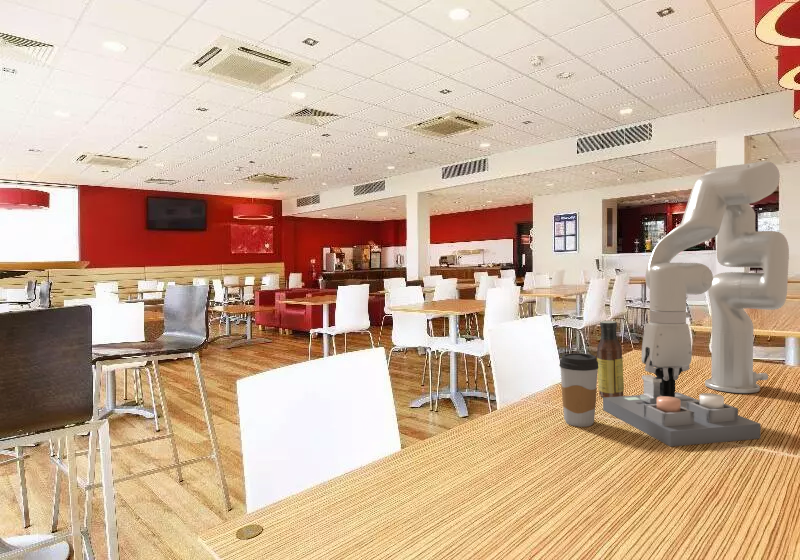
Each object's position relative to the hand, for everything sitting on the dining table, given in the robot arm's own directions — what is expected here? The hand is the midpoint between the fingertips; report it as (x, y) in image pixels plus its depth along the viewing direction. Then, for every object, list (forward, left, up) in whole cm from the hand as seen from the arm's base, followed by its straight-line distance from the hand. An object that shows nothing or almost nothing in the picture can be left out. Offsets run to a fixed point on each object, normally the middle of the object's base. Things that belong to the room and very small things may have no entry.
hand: (667, 395), depth 119 cm
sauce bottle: (+4, -16, -5) cm, 17 cm away
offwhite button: (-2, +12, +1) cm, 12 cm away
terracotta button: (+8, +12, +1) cm, 15 cm away
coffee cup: (+22, +1, -5) cm, 23 cm away
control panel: (+2, +6, -4) cm, 8 cm away
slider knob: (+4, 0, -1) cm, 4 cm away
